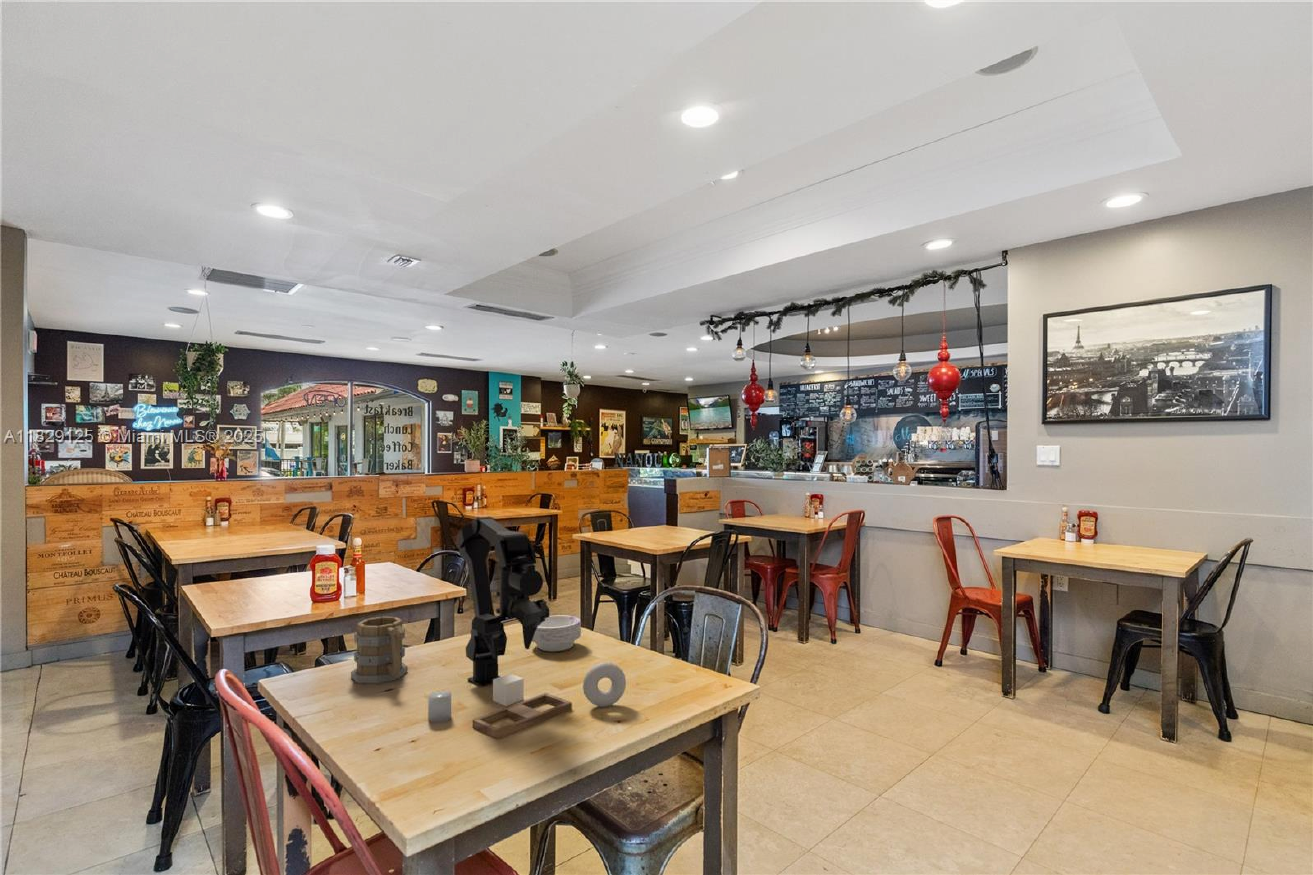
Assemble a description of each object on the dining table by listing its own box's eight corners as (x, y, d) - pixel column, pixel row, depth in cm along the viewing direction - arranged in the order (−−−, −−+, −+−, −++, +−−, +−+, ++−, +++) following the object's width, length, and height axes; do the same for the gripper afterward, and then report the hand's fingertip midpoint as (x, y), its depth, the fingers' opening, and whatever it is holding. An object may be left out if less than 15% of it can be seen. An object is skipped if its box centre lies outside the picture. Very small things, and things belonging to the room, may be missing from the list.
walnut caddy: (472, 726, 137) (472, 719, 138) (546, 699, 153) (546, 692, 153) (497, 739, 132) (497, 731, 132) (571, 709, 147) (571, 702, 147)
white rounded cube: (492, 700, 152) (493, 679, 152) (510, 694, 156) (510, 673, 156) (505, 706, 149) (506, 684, 149) (523, 699, 153) (523, 678, 153)
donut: (584, 711, 145) (584, 666, 146) (581, 705, 149) (581, 662, 149) (627, 707, 148) (627, 663, 148) (624, 701, 151) (624, 658, 152)
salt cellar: (423, 718, 142) (424, 695, 142) (443, 711, 146) (443, 689, 146) (435, 724, 139) (435, 701, 139) (455, 717, 142) (455, 694, 143)
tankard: (346, 674, 170) (346, 617, 170) (395, 663, 178) (395, 609, 179) (372, 696, 155) (372, 633, 155) (424, 683, 163) (424, 623, 164)
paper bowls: (525, 643, 198) (525, 616, 198) (574, 637, 203) (574, 612, 203) (534, 658, 183) (534, 629, 183) (586, 652, 189) (586, 624, 189)
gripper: (500, 600, 140) (499, 672, 140) (565, 585, 154) (564, 651, 154) (470, 592, 147) (469, 660, 147) (534, 579, 162) (534, 641, 162)
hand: (511, 653), depth 152 cm, fingers open, 9 cm apart
